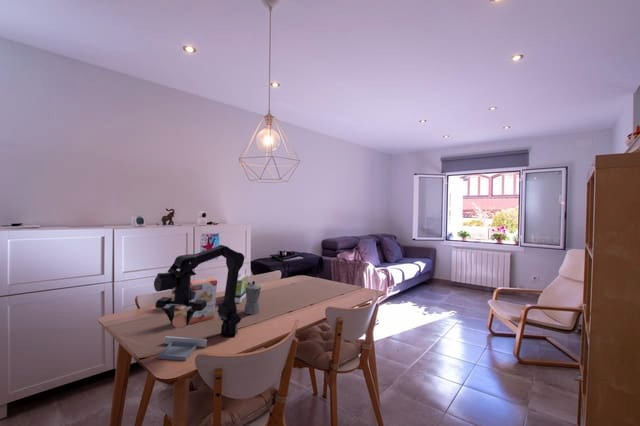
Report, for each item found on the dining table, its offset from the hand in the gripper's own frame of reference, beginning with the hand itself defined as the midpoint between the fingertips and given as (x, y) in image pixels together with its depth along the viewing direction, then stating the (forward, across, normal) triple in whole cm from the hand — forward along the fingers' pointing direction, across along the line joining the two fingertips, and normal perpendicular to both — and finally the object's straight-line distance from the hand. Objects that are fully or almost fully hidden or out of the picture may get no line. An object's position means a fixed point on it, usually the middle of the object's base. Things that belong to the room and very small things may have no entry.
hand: (180, 324), depth 121 cm
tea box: (+12, -4, -70) cm, 71 cm away
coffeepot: (+12, -18, -51) cm, 55 cm away
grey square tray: (+12, 0, 0) cm, 12 cm away
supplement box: (+12, +23, -48) cm, 54 cm away
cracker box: (+12, +5, -34) cm, 36 cm away
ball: (+1, 0, 0) cm, 1 cm away
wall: (+12, 0, -6) cm, 13 cm away
